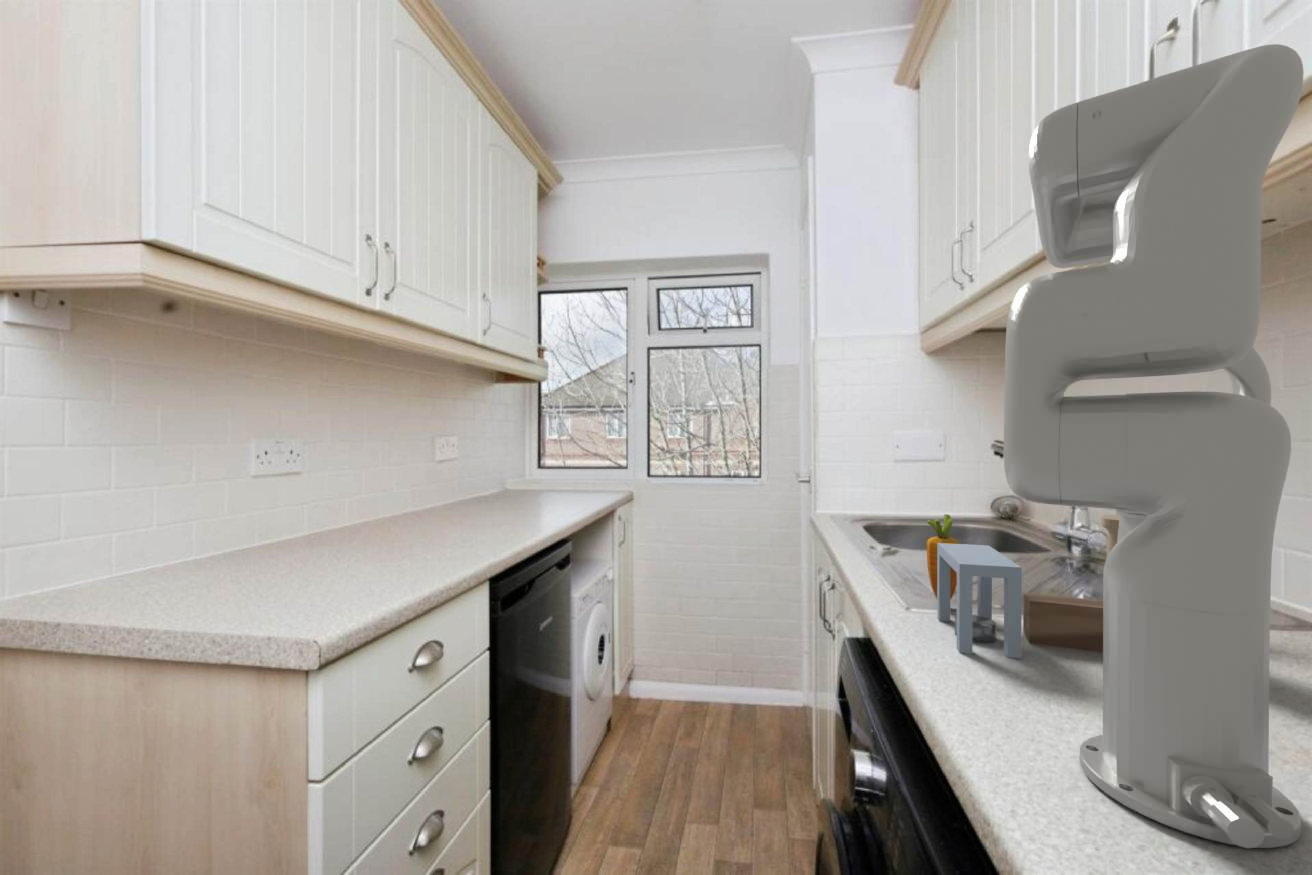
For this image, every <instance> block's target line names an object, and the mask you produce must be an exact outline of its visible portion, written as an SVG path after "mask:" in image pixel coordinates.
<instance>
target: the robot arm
mask: <svg viewBox="0 0 1312 875" xmlns="http://www.w3.org/2000/svg"><path fill="white" fill-rule="evenodd" d="M1303 84H1304V65H1303V61H1302V58H1301V56H1300V55H1299V54H1298V52H1297V51H1296V50H1295V49H1294V48H1291V47H1290V46H1288V45H1284V44H1280V43H1279V44H1276V43H1275V44H1265V45H1261V46H1257V47H1253V48H1249V49H1245V50H1242V51H1239V52H1236V53H1232V54H1229V55H1225V56H1223V57H1219V58H1216V59H1213V60H1209V61H1206V62H1205V61H1204V62H1203V63H1199V64H1196V65H1192V66H1189V67H1186V68H1183V69H1180V70H1177V71H1173V72H1170V73H1166V74H1163V75H1159V76H1157V77H1154V78H1151V79H1148V80H1145V81H1141V82H1140V83H1136V84H1133V85H1130V86H1127V87H1123V88H1120V89H1117V90H1114V91H1110V92H1106V93H1103V94H1099V95H1096V96H1093V97H1091V98H1090V97H1089V98H1086V99H1084V100H1081V101H1078V102H1074V103H1070V104H1068V105H1065V106H1063V107H1061V108H1059V109H1056V110H1053V111H1052V112H1051V113H1049V114H1048V115H1046V116H1044V118H1042V120H1040V122H1039V123H1038V124H1037V126H1036V127H1035V129H1034V131H1033V132H1032V135H1031V139H1030V142H1029V147H1028V170H1029V171H1028V172H1029V178H1030V185H1031V190H1032V196H1033V202H1034V207H1035V215H1036V220H1037V226H1038V233H1039V239H1040V243H1041V247H1042V250H1043V252H1044V256H1045V258H1046V260H1047V262H1048V263H1049V264H1050V265H1052V266H1053V267H1055V268H1058V269H1069V268H1075V267H1082V268H1077V269H1069V270H1063V271H1058V272H1053V273H1048V274H1045V275H1044V274H1043V275H1041V276H1038V277H1035V278H1033V279H1031V280H1030V281H1028V282H1026V283H1025V284H1023V286H1021V287H1020V289H1018V290H1017V293H1015V296H1014V297H1013V299H1012V302H1011V304H1010V308H1009V311H1008V315H1007V322H1006V332H1005V342H1004V343H1005V344H1004V346H1005V348H1004V351H1005V352H1004V353H1005V354H1004V355H1005V356H1004V401H1003V402H1004V403H1003V404H1004V407H1003V410H1004V411H1003V412H1004V414H1003V415H1004V416H1003V463H1004V464H1003V465H1004V466H1003V467H1004V473H1005V478H1006V481H1007V484H1008V486H1009V488H1010V489H1011V491H1012V492H1013V494H1015V495H1016V496H1017V497H1019V498H1021V499H1023V500H1025V501H1028V502H1031V503H1037V504H1043V505H1053V506H1054V505H1055V506H1056V505H1057V506H1062V507H1063V506H1064V507H1065V506H1066V507H1067V506H1068V507H1077V508H1078V507H1081V508H1095V509H1096V508H1097V509H1110V510H1111V509H1112V510H1115V515H1120V520H1119V527H1118V537H1117V544H1116V545H1115V546H1114V547H1113V548H1112V550H1111V551H1110V552H1109V554H1108V556H1107V555H1106V559H1105V562H1104V566H1103V580H1102V581H1103V585H1102V586H1103V587H1102V588H1103V593H1102V594H1103V597H1102V598H1103V599H1102V600H1103V653H1102V734H1100V735H1095V736H1092V737H1090V738H1088V739H1086V740H1084V741H1083V742H1082V743H1081V745H1080V746H1079V764H1080V767H1081V769H1082V771H1083V772H1084V774H1085V775H1086V777H1087V778H1088V779H1089V780H1090V781H1091V782H1092V783H1093V784H1095V786H1096V787H1098V789H1100V790H1101V791H1103V793H1105V795H1108V796H1109V797H1111V798H1112V799H1114V800H1115V801H1117V802H1119V803H1120V804H1122V805H1123V806H1126V807H1127V808H1129V809H1131V810H1132V811H1134V812H1136V813H1139V814H1140V815H1141V816H1144V817H1146V818H1149V819H1151V820H1153V821H1155V822H1158V823H1159V824H1162V825H1164V826H1167V827H1170V828H1172V829H1174V830H1177V831H1180V832H1183V833H1186V834H1190V835H1192V836H1196V837H1199V838H1202V839H1206V840H1210V841H1214V842H1219V843H1222V844H1226V845H1230V846H1231V845H1232V846H1238V847H1241V848H1244V849H1253V848H1257V849H1259V848H1262V849H1272V848H1280V847H1285V846H1290V844H1293V843H1295V842H1297V841H1298V839H1299V838H1300V836H1301V835H1302V833H1301V832H1302V817H1301V815H1300V811H1299V810H1298V809H1297V807H1296V806H1295V804H1294V803H1293V802H1292V801H1291V799H1289V798H1288V797H1287V796H1286V795H1285V794H1283V793H1282V792H1281V791H1280V790H1279V789H1278V788H1276V787H1274V778H1273V776H1272V775H1270V774H1269V768H1270V767H1269V766H1270V765H1269V763H1270V762H1269V760H1270V759H1269V758H1270V757H1269V755H1270V754H1269V750H1270V749H1269V747H1270V742H1269V741H1270V643H1271V641H1270V637H1271V636H1270V633H1271V632H1270V631H1271V630H1270V628H1271V627H1270V626H1271V624H1270V623H1271V614H1270V613H1271V592H1272V590H1271V586H1272V585H1271V581H1272V562H1273V561H1272V560H1273V559H1272V557H1273V547H1274V538H1275V537H1274V536H1275V530H1276V525H1277V519H1278V512H1279V509H1280V504H1281V498H1282V496H1283V491H1284V488H1285V487H1284V486H1285V482H1286V478H1287V475H1288V474H1287V473H1288V471H1289V470H1288V469H1289V465H1290V461H1291V452H1292V442H1291V441H1292V439H1291V438H1292V437H1291V431H1290V427H1289V426H1288V422H1287V421H1286V419H1285V418H1284V416H1283V415H1282V413H1280V412H1279V411H1278V410H1277V409H1276V408H1274V406H1272V405H1271V401H1272V385H1271V379H1270V374H1269V372H1268V369H1267V366H1266V364H1265V362H1264V361H1263V359H1262V357H1261V356H1260V354H1259V353H1258V352H1257V350H1256V349H1255V348H1254V344H1255V342H1256V339H1257V336H1258V331H1259V330H1258V329H1259V323H1260V315H1261V314H1260V313H1261V286H1262V285H1261V280H1262V279H1261V278H1262V276H1261V275H1262V274H1261V273H1262V244H1261V243H1262V199H1261V198H1262V192H1263V185H1264V179H1265V176H1266V174H1267V171H1268V168H1269V164H1270V162H1271V160H1272V158H1273V156H1274V154H1275V152H1276V150H1277V149H1278V146H1279V144H1280V143H1281V141H1282V139H1283V138H1284V135H1285V133H1286V132H1287V129H1288V128H1289V126H1290V124H1291V122H1292V120H1293V118H1294V116H1295V113H1296V110H1297V109H1298V105H1299V103H1300V101H1301V97H1302V92H1303ZM1102 263H1106V264H1102ZM1095 264H1102V265H1097V266H1091V267H1084V268H1083V266H1088V265H1095ZM1218 370H1224V371H1225V372H1226V373H1227V375H1228V376H1229V378H1230V380H1231V387H1232V393H1230V392H1229V393H1228V392H1219V391H1195V390H1194V391H1170V392H1169V391H1164V392H1139V393H1126V394H1107V395H1105V394H1103V395H1102V394H1101V395H1078V396H1077V395H1075V396H1071V395H1070V396H1065V392H1066V391H1067V389H1068V388H1070V386H1071V385H1073V384H1076V383H1077V382H1081V381H1089V380H1090V381H1092V380H1109V379H1110V380H1111V379H1126V378H1128V379H1129V378H1130V379H1131V378H1147V377H1148V378H1149V377H1162V376H1178V375H1188V374H1192V375H1193V374H1199V373H1208V372H1213V371H1218Z"/></svg>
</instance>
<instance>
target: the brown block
mask: <svg viewBox="0 0 1312 875" xmlns="http://www.w3.org/2000/svg"><path fill="white" fill-rule="evenodd" d="M1022 596H1023V600H1022V602H1023V603H1022V605H1023V607H1022V608H1023V610H1022V614H1023V615H1022V616H1023V617H1022V621H1023V622H1022V623H1023V625H1022V626H1023V627H1022V633H1023V636H1024V637H1025V639H1026V640H1027V642H1028V644H1031V645H1039V646H1046V647H1052V648H1053V647H1054V648H1061V649H1062V648H1063V649H1070V650H1071V649H1072V650H1079V651H1087V652H1096V653H1102V654H1103V599H1102V600H1101V599H1090V598H1081V597H1070V596H1063V595H1062V596H1059V595H1051V594H1039V593H1031V592H1030V593H1029V592H1023V595H1022Z"/></svg>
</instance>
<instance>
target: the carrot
mask: <svg viewBox="0 0 1312 875" xmlns="http://www.w3.org/2000/svg"><path fill="white" fill-rule="evenodd" d="M926 523H927V524H928V525H930V526H931V527H932V528H933V530H934V531H935V533H936V535H937V536H932V537H930V538H929V539H927V540H926V562H927V563H926V564H927V572H928V577H929V581H930V587H931V589H932V591H933V594H934V596H935V598H936V599H937V543H948V544H961V543H960V542H959V541H958V540H956V539H955V538H954V537H950V536H949V534H950V530H951V527H952V525H953V524H954V521H953V519H951V516H950V514H946V513H945V514H944V515H943V526H942V523H941V522H940V520H939V519H938V518H936V519H934V521H933V520H932V519H929V520H927V522H926ZM956 591H957V572H956V571H955V570H954V569H953V568H952V567H951V566H950V601H951V600H952V598H953V597H954V594H955V592H956Z"/></svg>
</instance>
